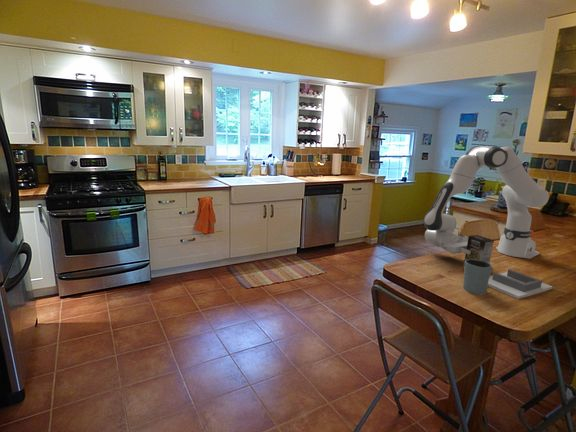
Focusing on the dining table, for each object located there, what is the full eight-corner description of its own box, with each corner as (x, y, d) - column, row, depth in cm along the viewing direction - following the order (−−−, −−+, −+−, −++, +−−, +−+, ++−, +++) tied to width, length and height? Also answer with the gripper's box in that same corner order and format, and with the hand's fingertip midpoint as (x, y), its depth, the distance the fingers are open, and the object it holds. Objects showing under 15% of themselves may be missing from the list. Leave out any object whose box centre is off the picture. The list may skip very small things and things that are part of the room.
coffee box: (462, 266, 170) (467, 235, 166) (471, 265, 172) (477, 234, 169) (479, 273, 162) (484, 241, 158) (488, 272, 164) (494, 239, 161)
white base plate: (509, 273, 163) (511, 265, 162) (551, 289, 148) (553, 280, 147) (476, 281, 153) (478, 272, 152) (518, 299, 137) (520, 289, 136)
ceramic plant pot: (476, 296, 138) (481, 268, 135) (455, 286, 147) (459, 259, 144) (493, 292, 142) (498, 265, 139) (471, 283, 151) (476, 257, 148)
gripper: (439, 239, 172) (463, 247, 160) (466, 235, 181) (491, 242, 169) (437, 251, 174) (461, 260, 162) (464, 246, 183) (489, 255, 171)
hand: (477, 251), depth 166 cm, fingers open, 8 cm apart
